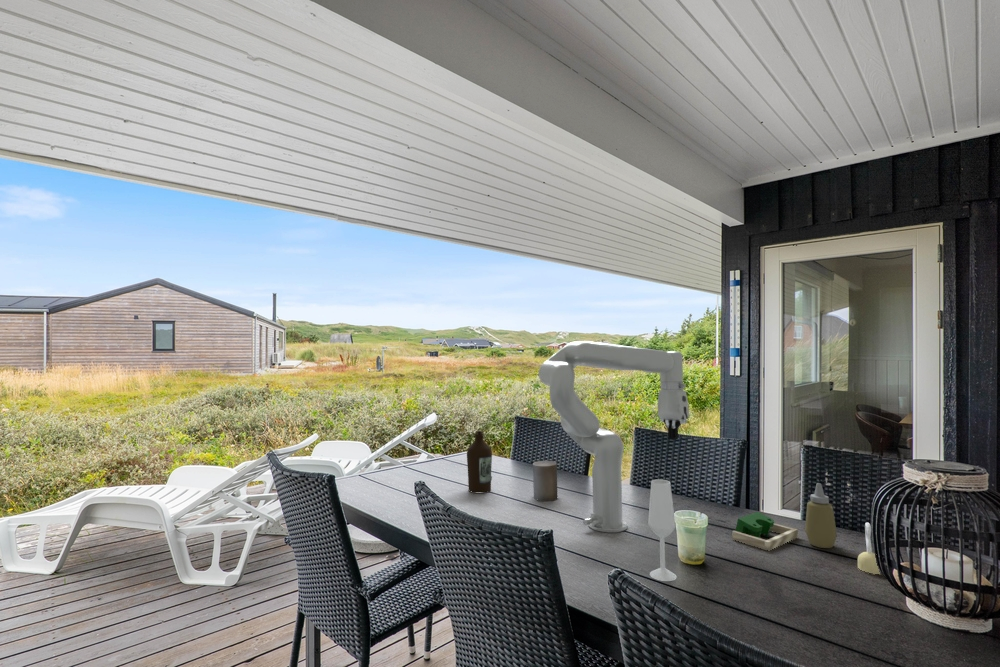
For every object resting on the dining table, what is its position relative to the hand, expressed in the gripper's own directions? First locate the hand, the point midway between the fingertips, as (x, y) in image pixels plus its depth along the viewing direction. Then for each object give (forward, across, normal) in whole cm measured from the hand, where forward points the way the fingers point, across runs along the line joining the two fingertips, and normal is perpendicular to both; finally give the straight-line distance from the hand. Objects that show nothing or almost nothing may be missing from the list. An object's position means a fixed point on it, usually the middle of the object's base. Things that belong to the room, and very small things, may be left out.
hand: (673, 439), depth 177 cm
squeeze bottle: (+27, -41, -13) cm, 51 cm away
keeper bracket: (+27, -28, -5) cm, 39 cm away
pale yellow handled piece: (+27, -56, -5) cm, 63 cm away
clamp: (+28, -25, -5) cm, 38 cm away
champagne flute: (+27, -26, +41) cm, 56 cm away
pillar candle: (+27, +46, +20) cm, 57 cm away
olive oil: (+27, +71, +35) cm, 84 cm away
